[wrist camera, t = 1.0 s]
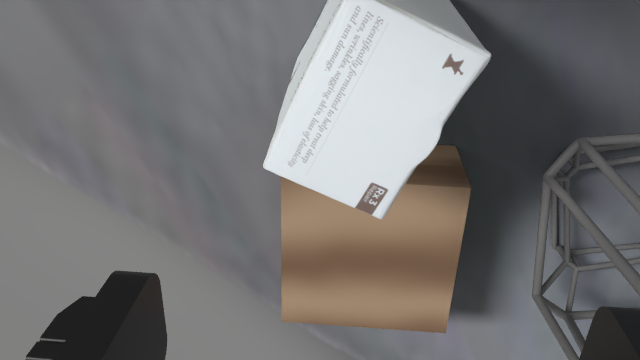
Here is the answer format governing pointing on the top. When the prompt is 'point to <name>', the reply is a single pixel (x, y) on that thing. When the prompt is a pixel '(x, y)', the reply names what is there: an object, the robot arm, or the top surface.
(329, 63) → the skincare box
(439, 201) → the light brown block
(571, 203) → the geometric lantern
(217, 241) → the top surface
